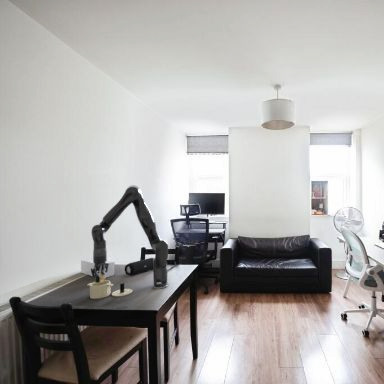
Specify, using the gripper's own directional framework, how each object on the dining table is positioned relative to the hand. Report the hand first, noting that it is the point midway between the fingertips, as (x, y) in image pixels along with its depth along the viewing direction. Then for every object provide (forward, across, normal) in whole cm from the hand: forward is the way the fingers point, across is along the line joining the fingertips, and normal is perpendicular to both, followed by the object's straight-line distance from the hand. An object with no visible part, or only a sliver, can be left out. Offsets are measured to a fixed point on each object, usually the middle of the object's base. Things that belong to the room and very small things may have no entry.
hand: (100, 281), depth 172 cm
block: (0, 0, 0) cm, 0 cm away
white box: (+10, +44, +38) cm, 59 cm away
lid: (+9, +5, -12) cm, 16 cm away
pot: (+10, 0, 0) cm, 10 cm away
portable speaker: (+10, +52, +3) cm, 53 cm away
